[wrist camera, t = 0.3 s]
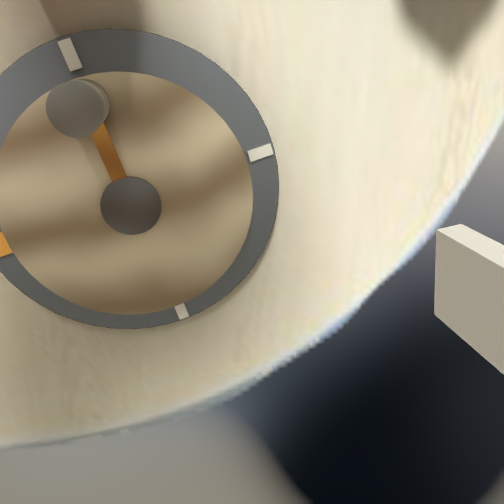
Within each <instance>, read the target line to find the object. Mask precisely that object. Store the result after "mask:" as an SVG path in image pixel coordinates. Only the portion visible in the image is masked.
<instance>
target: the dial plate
mask: <svg viewBox="0 0 504 504" xmlns="http://www.w3.org/2000/svg"><path fill="white" fill-rule="evenodd" d="M113 71H122V72H136V73H142V74H149V75H152V76H156V77H159V78H162V79H165V80H168V81H170V82H172V83H174V84H177V85H179V86H181V87H183V88H185V89H186V90H188V91H189V92H191V93H193V94H194V95H196V96H197V97H199V98H200V99H201V100H203V101H204V102H205V103H206V104H208V105H209V106H210V107H211V108H212V109H214V111H215V112H216V113H217V114H218V115H219V116H220V117H221V118H222V119H223V120H224V121H225V122H226V124H227V125H228V127H229V128H230V129H231V131H232V132H233V134H234V135H235V137H236V139H237V141H238V142H239V144H240V146H241V148H242V150H243V153H244V155H245V158H246V160H247V163H248V167H249V171H250V175H251V179H252V189H253V210H252V216H251V222H250V226H249V229H248V233H247V236H246V239H245V241H244V243H243V245H242V248H241V250H240V252H239V253H238V255H237V257H236V258H235V260H234V261H233V263H232V264H231V266H230V267H229V268H228V269H227V271H226V272H225V273H224V274H223V275H222V276H221V277H220V278H219V279H218V280H217V281H216V282H215V283H214V284H213V285H212V286H210V287H209V288H208V289H206V290H205V291H204V292H202V293H201V294H199V295H198V296H196V297H194V298H192V299H191V300H189V301H187V302H184V303H182V304H180V305H178V306H175V307H172V308H169V309H165V310H162V311H157V312H152V313H147V314H134V315H127V314H112V313H105V312H99V311H96V310H92V309H88V308H85V307H82V306H80V305H77V304H74V303H72V302H70V301H68V300H66V299H64V298H62V297H60V296H58V295H56V294H55V293H53V292H52V291H51V290H49V289H48V288H46V287H45V286H43V285H42V284H41V283H40V282H39V281H37V280H36V279H35V278H34V277H33V276H32V275H31V274H30V273H29V272H28V271H27V270H26V269H25V268H24V266H23V265H22V264H21V263H20V262H19V260H18V259H17V257H16V256H15V254H14V253H13V252H12V250H11V249H10V247H9V245H8V243H7V241H6V239H5V237H4V235H3V232H2V230H1V227H0V271H1V273H2V274H3V275H4V276H5V277H6V278H7V279H8V280H9V281H10V282H11V283H12V284H13V285H14V286H16V287H17V288H18V289H19V290H20V291H22V292H23V293H24V294H25V295H27V296H28V297H30V298H31V299H33V300H34V301H36V302H37V303H39V304H40V305H42V306H44V307H46V308H48V309H49V310H51V311H53V312H55V313H57V314H59V315H62V316H65V317H67V318H70V319H73V320H75V321H79V322H82V323H86V324H90V325H94V326H101V327H108V328H119V329H137V328H149V327H155V326H160V325H165V324H170V323H173V322H176V321H179V320H182V319H185V318H188V317H190V316H192V315H194V314H197V313H199V312H201V311H203V310H205V309H206V308H208V307H210V306H211V305H213V304H215V303H216V302H218V301H219V300H220V299H222V298H223V297H224V296H226V295H227V294H228V293H230V292H231V291H232V290H233V289H234V288H235V287H236V286H237V285H238V284H239V283H240V282H241V281H242V280H243V279H244V278H245V276H246V275H247V274H248V273H249V271H250V270H251V269H252V268H253V266H254V265H255V263H256V262H257V260H258V258H259V257H260V255H261V254H262V252H263V250H264V248H265V245H266V243H267V241H268V239H269V237H270V234H271V231H272V228H273V224H274V221H275V217H276V211H277V206H278V195H279V177H278V165H277V160H276V156H275V151H274V147H273V144H272V141H271V138H270V135H269V132H268V129H267V127H266V125H265V123H264V121H263V119H262V117H261V115H260V113H259V111H258V110H257V108H256V107H255V105H254V104H253V102H252V101H251V99H250V98H249V97H248V95H247V94H246V93H245V91H244V90H243V89H242V88H241V87H240V86H239V85H238V83H237V82H236V81H235V80H234V79H233V78H232V77H231V76H230V75H229V74H227V73H226V72H225V71H224V70H223V69H222V68H221V67H219V66H218V65H217V64H216V63H214V62H213V61H211V60H210V59H208V58H207V57H205V56H204V55H202V54H201V53H199V52H198V51H196V50H194V49H192V48H190V47H188V46H186V45H183V44H181V43H179V42H177V41H174V40H171V39H168V38H165V37H162V36H159V35H156V34H152V33H146V32H141V31H136V30H125V29H100V30H90V31H83V32H79V33H75V34H71V35H66V36H62V37H60V38H57V39H55V40H53V41H50V42H48V43H45V44H43V45H40V46H39V47H37V48H35V49H34V50H32V51H30V52H29V53H27V54H25V55H24V56H22V57H21V58H19V59H18V60H17V61H16V62H15V63H13V64H12V65H11V66H10V67H9V68H7V69H6V70H5V71H4V72H3V73H2V74H1V75H0V149H1V147H2V145H3V143H4V140H5V138H6V136H7V134H8V132H9V131H10V129H11V128H12V126H13V125H14V123H15V122H16V120H17V119H18V118H19V117H20V115H21V114H22V113H23V112H24V111H25V110H26V109H27V108H28V107H29V106H30V105H31V104H32V103H33V102H35V101H36V100H37V99H38V98H39V97H41V96H42V95H43V94H45V93H47V92H48V91H50V90H52V89H53V88H54V87H55V86H57V85H59V84H61V83H64V82H68V81H70V80H73V79H75V78H79V77H83V76H87V75H91V74H95V73H104V72H113Z"/></svg>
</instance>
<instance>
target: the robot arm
mask: <svg viewBox="0 0 504 504" xmlns="http://www.w3.org/2000/svg"><path fill="white" fill-rule="evenodd" d="M434 314H435V315H436V316H437V317H438V318H439V319H441V320H442V321H443V322H444V323H445V324H446V325H447V326H448V327H450V328H451V329H452V330H453V331H454V332H455V333H457V334H458V335H459V336H460V337H461V338H462V339H463V340H465V341H466V342H467V343H468V344H469V345H470V346H472V347H473V348H474V349H475V350H476V351H477V352H478V353H480V354H481V355H482V356H483V357H484V358H485V359H486V360H488V361H489V362H490V363H491V364H492V365H493V366H495V367H496V368H497V369H498V370H499V371H500V372H501V373H503V374H504V245H502V244H500V243H498V242H496V241H494V240H492V239H490V238H488V237H486V236H484V235H482V234H480V233H478V232H476V231H474V230H472V229H470V228H468V227H466V226H464V225H462V224H460V225H455V226H451V227H446V228H442V229H437V230H436V268H435V305H434Z"/></svg>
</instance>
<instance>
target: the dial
mask: <svg viewBox="0 0 504 504" xmlns="http://www.w3.org/2000/svg"><path fill="white" fill-rule="evenodd" d="M252 210H253V189H252V179H251V175H250V171H249V167H248V163H247V160H246V158H245V155H244V153H243V150H242V148H241V146H240V144H239V142H238V141H237V139H236V137H235V135H234V134H233V132H232V131H231V129H230V128H229V127H228V125H227V124H226V122H225V121H224V120H223V119H222V118H221V117H220V116H219V115H218V114H217V113H216V112H215V111H214V109H212V108H211V107H210V106H209V105H208V104H206V103H205V102H204V101H203V100H201V99H200V98H199V97H197V96H196V95H194V94H193V93H191V92H189V91H188V90H186V89H185V88H183V87H181V86H179V85H177V84H174V83H172V82H170V81H168V80H165V79H162V78H159V77H156V76H152V75H149V74H142V73H136V72H122V71H113V72H104V73H95V74H91V75H87V76H83V77H79V78H75V79H73V80H70V81H68V82H64V83H61V84H59V85H57V86H55V87H54V88H53V89H52V90H50V91H48V92H47V93H45V94H43V95H42V96H41V97H39V98H38V99H37V100H36V101H35V102H33V103H32V104H31V105H30V106H29V107H28V108H27V109H26V110H25V111H24V112H23V113H22V114H21V115H20V117H19V118H18V119H17V120H16V122H15V123H14V125H13V126H12V128H11V129H10V131H9V132H8V134H7V136H6V138H5V140H4V143H3V145H2V147H1V149H0V227H1V230H2V232H3V235H4V237H5V239H6V241H7V243H8V245H9V247H10V249H11V250H12V252H13V253H14V254H15V256H16V257H17V259H18V260H19V262H20V263H21V264H22V265H23V266H24V268H25V269H26V270H27V271H28V272H29V273H30V274H31V275H32V276H33V277H34V278H35V279H36V280H37V281H39V282H40V283H41V284H42V285H43V286H45V287H46V288H48V289H49V290H51V291H52V292H53V293H55V294H56V295H58V296H60V297H62V298H64V299H66V300H68V301H70V302H72V303H74V304H77V305H80V306H82V307H85V308H88V309H92V310H96V311H99V312H105V313H112V314H127V315H134V314H147V313H152V312H157V311H162V310H165V309H169V308H172V307H175V306H178V305H180V304H182V303H184V302H187V301H189V300H191V299H192V298H194V297H196V296H198V295H199V294H201V293H202V292H204V291H205V290H206V289H208V288H209V287H210V286H212V285H213V284H214V283H215V282H216V281H217V280H218V279H219V278H220V277H221V276H222V275H223V274H224V273H225V272H226V271H227V269H228V268H229V267H230V266H231V264H232V263H233V261H234V260H235V258H236V257H237V255H238V253H239V252H240V250H241V248H242V245H243V243H244V241H245V239H246V236H247V233H248V229H249V226H250V222H251V216H252Z"/></svg>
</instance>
